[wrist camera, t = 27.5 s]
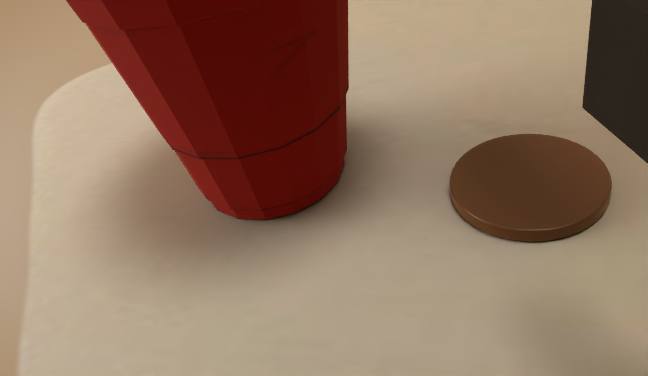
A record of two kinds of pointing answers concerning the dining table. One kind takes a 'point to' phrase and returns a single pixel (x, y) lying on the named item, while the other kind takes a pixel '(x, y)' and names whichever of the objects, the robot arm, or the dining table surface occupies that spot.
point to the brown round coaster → (530, 187)
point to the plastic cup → (238, 91)
